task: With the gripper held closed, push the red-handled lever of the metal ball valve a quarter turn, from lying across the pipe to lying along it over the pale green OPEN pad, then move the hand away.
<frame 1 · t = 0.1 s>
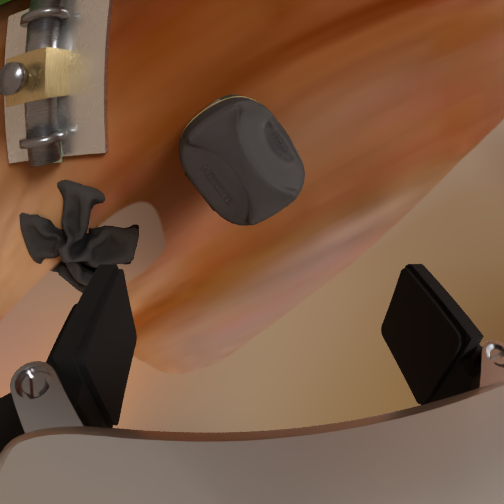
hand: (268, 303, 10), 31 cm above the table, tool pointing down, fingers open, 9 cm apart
cloth: (83, 245, 43), on the table
valve pipe: (53, 76, 30), on the table
coffee jar: (234, 132, 37), on the table
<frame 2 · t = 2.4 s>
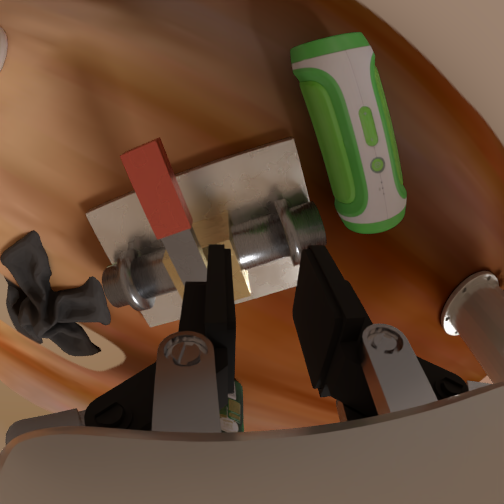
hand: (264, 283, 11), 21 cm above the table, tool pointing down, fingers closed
cloth: (50, 306, 37), on the table
valve pipe: (209, 241, 34), on the table
lever: (181, 234, 23), point 9 cm above the table, hinge at 0.0°
speaker: (340, 126, 29), on the table
coffee jar: (212, 388, 46), on the table
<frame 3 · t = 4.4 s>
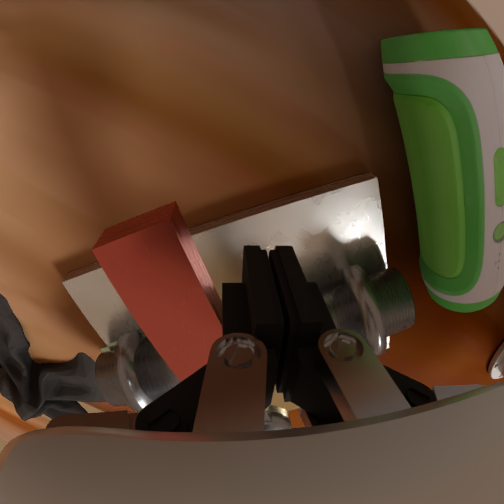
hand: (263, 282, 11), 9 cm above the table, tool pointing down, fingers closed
cloth: (34, 375, 27), on the table
valve pipe: (243, 315, 24), on the table
lever: (219, 361, 13), point 9 cm above the table, hinge at 0.4°, touching gripper
speaker: (428, 158, 19), on the table
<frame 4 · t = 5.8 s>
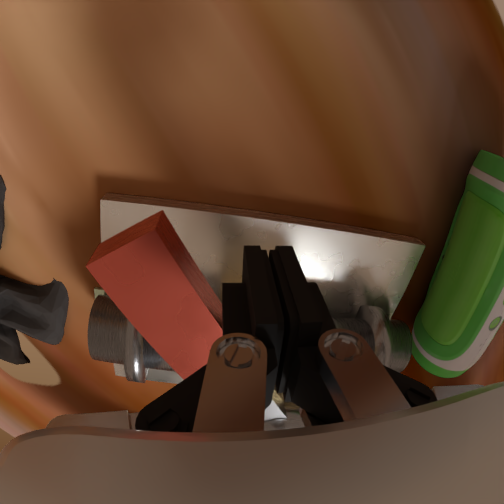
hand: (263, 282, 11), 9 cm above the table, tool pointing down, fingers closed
valve pipe: (255, 312, 24), on the table
lever: (228, 362, 13), point 9 cm above the table, hinge at 34.8°, touching gripper
speaker: (454, 247, 23), on the table
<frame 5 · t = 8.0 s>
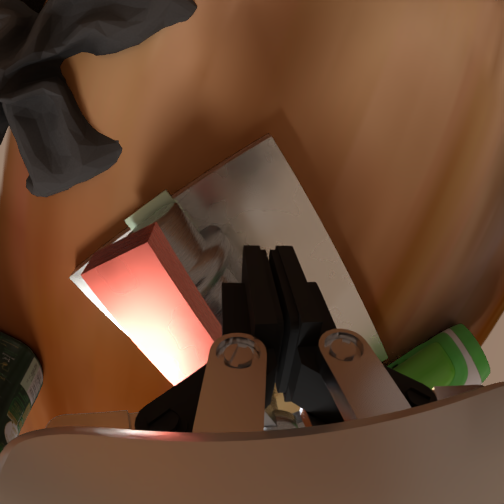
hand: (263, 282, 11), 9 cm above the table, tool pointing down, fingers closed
cloth: (21, 61, 13), on the table
valve pipe: (250, 320, 24), on the table
lever: (219, 370, 13), point 9 cm above the table, hinge at 81.0°
speaker: (390, 370, 30), on the table
coffee jar: (9, 352, 24), on the table
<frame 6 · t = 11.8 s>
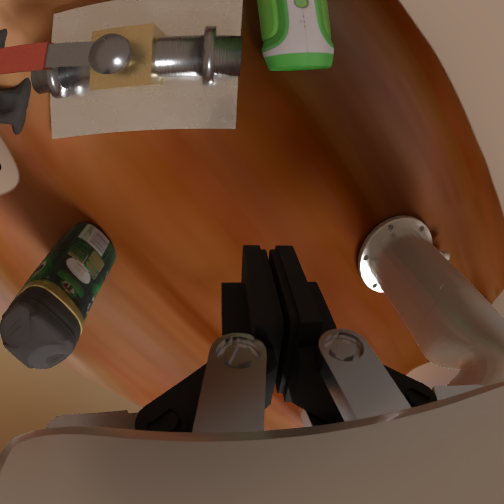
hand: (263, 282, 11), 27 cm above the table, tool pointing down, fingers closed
valve pipe: (139, 61, 29), on the table
lever: (60, 55, 20), point 9 cm above the table, hinge at 81.1°
speaker: (283, 1, 27), on the table
coffee jar: (86, 251, 40), on the table
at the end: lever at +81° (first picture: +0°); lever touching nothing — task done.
